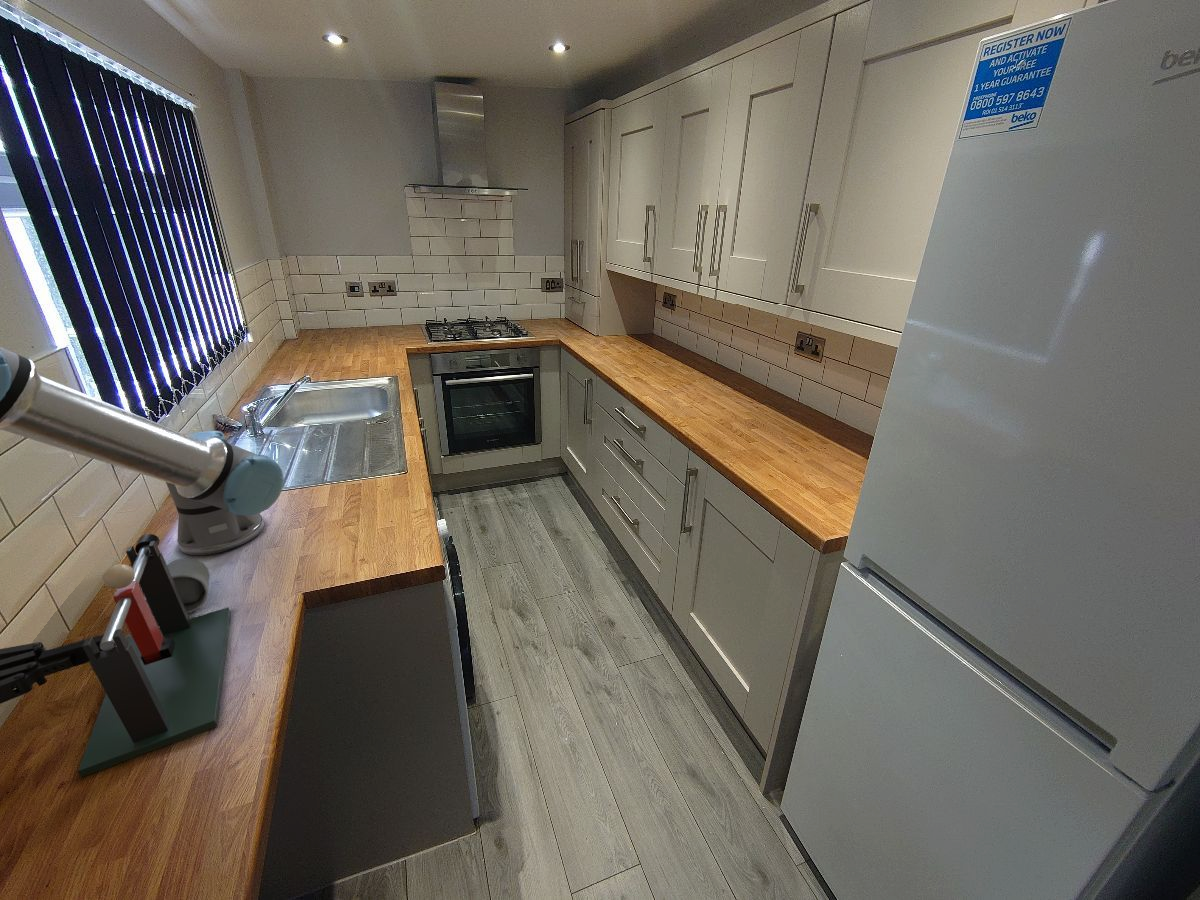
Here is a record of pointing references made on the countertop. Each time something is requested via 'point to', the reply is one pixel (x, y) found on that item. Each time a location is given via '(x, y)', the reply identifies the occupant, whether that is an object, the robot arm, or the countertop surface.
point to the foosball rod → (135, 607)
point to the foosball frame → (157, 677)
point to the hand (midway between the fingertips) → (107, 644)
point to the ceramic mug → (190, 582)
